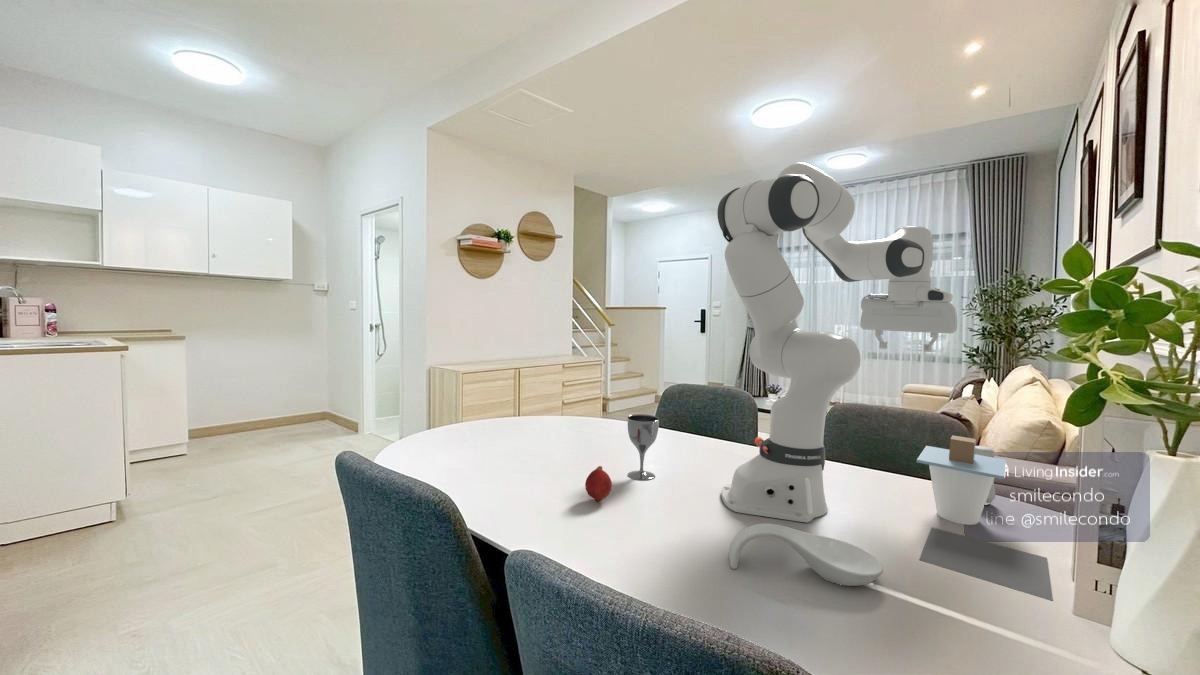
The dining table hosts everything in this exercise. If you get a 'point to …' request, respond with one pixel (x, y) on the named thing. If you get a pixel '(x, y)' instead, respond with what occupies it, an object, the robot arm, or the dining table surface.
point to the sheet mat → (989, 562)
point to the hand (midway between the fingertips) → (904, 350)
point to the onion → (598, 484)
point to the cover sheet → (965, 467)
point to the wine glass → (642, 440)
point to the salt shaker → (989, 453)
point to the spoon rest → (816, 554)
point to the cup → (959, 494)
